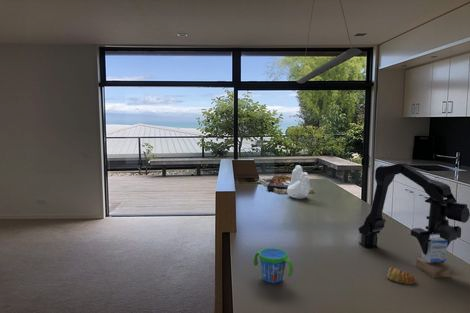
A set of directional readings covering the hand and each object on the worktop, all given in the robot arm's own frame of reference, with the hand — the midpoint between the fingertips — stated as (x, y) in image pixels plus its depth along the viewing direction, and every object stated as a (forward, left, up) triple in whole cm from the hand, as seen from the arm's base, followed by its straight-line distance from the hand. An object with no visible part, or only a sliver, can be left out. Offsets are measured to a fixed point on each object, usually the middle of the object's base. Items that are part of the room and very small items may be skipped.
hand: (433, 253), depth 137 cm
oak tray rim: (+1, +172, -7) cm, 172 cm away
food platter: (+1, +172, -7) cm, 172 cm away
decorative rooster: (-4, +128, -8) cm, 128 cm away
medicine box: (0, 0, -3) cm, 3 cm away
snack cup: (-66, +4, -8) cm, 67 cm away
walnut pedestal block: (0, 0, -8) cm, 8 cm away
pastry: (-18, -4, -8) cm, 20 cm away
